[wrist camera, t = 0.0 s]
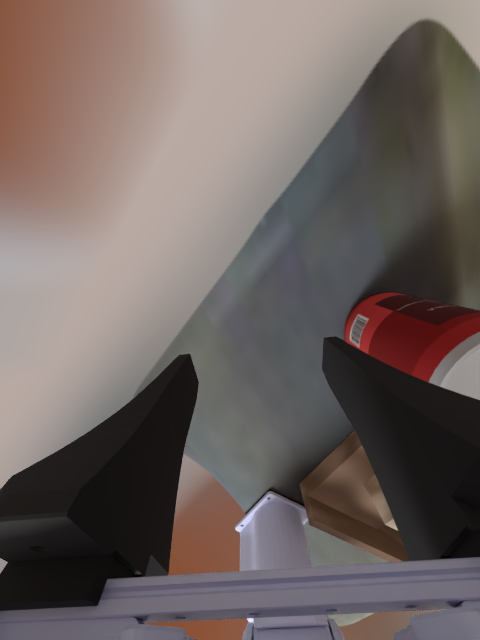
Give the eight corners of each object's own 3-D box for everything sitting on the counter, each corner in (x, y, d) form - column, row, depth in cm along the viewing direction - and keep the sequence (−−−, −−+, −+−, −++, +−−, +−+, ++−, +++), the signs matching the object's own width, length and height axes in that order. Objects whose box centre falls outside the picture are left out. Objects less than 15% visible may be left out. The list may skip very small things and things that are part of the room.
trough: (443, 555, 32) (474, 600, 28) (299, 484, 28) (309, 524, 24) (546, 489, 28) (602, 531, 23) (392, 392, 24) (425, 422, 19)
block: (392, 499, 26) (418, 541, 22) (363, 484, 25) (385, 524, 21) (422, 476, 25) (455, 516, 21) (392, 459, 24) (420, 497, 20)
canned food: (358, 372, 23) (456, 469, 12) (328, 315, 21) (414, 372, 10) (425, 340, 22) (598, 417, 11) (400, 276, 20) (580, 296, 9)
